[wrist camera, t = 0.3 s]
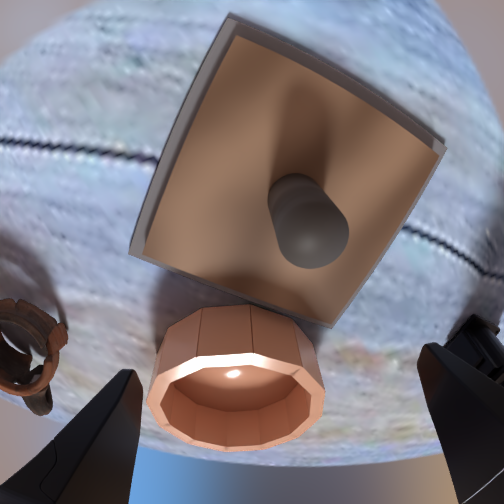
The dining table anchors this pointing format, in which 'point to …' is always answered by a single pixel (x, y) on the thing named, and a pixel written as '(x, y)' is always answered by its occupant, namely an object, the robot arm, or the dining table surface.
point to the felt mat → (192, 108)
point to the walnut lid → (286, 185)
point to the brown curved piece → (18, 364)
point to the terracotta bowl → (236, 379)
